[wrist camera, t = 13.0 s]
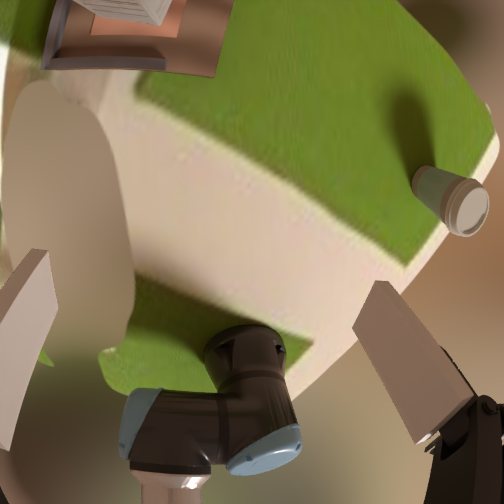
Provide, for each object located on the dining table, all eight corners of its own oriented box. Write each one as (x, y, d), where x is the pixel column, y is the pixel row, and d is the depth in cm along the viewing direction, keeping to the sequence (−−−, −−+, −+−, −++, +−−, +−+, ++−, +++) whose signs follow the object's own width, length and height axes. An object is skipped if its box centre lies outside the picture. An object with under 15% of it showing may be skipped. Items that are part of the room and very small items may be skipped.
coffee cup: (401, 207, 44) (447, 243, 34) (408, 155, 39) (461, 182, 29) (437, 205, 45) (483, 237, 35) (445, 158, 40) (496, 184, 30)
